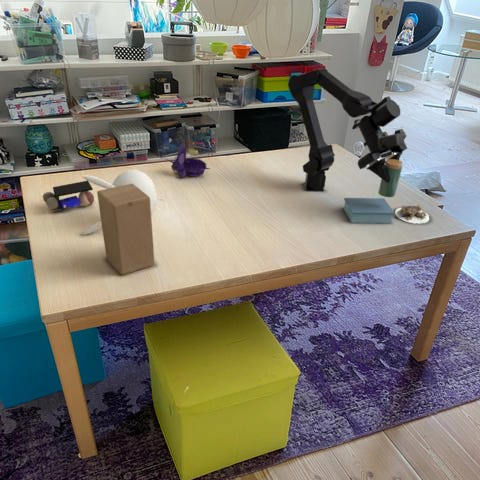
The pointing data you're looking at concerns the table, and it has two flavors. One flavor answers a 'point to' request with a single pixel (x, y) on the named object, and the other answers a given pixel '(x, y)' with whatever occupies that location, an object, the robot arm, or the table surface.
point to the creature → (187, 164)
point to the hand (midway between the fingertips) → (393, 180)
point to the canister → (391, 178)
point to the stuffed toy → (124, 179)
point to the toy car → (83, 198)
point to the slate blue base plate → (368, 210)
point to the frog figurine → (412, 214)
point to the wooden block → (127, 228)
